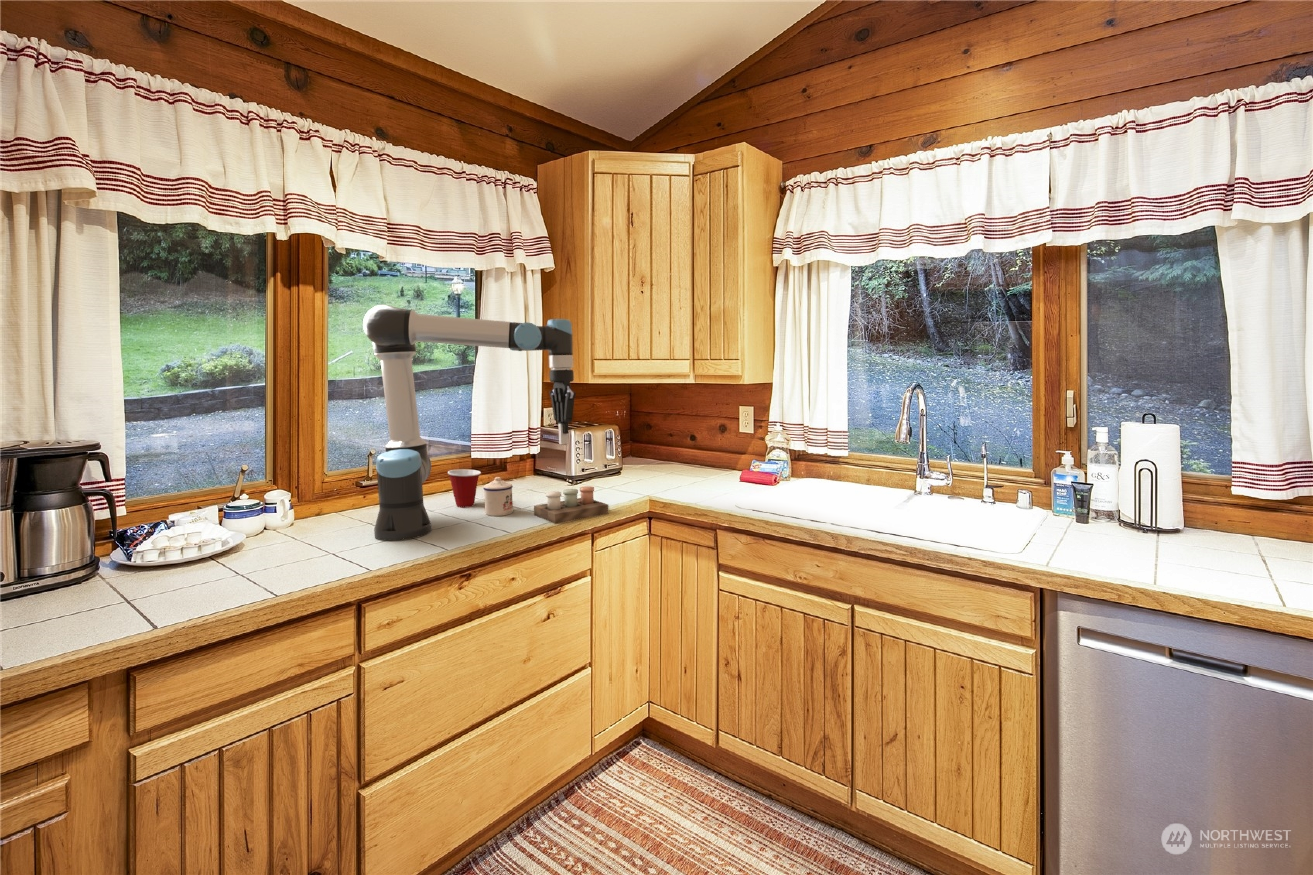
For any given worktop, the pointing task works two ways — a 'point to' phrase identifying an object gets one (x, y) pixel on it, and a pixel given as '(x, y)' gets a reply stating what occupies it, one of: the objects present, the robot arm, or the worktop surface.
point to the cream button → (553, 500)
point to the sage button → (570, 497)
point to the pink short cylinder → (587, 495)
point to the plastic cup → (464, 486)
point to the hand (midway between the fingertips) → (564, 443)
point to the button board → (571, 511)
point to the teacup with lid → (498, 498)
